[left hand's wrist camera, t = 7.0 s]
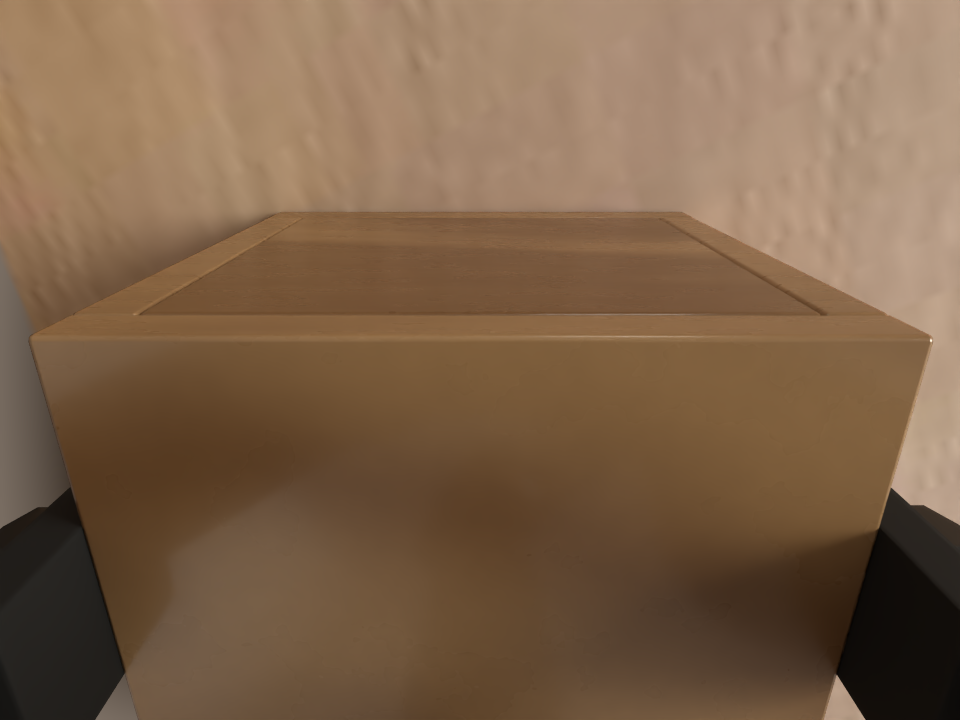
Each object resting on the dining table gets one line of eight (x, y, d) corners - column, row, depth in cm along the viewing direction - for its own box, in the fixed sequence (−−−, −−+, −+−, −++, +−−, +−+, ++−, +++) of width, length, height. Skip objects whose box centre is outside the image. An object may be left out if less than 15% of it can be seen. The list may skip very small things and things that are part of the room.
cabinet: (621, 721, 24) (712, 1110, 14) (339, 721, 24) (249, 1108, 14) (683, 211, 17) (938, 336, 7) (279, 212, 17) (23, 335, 7)
